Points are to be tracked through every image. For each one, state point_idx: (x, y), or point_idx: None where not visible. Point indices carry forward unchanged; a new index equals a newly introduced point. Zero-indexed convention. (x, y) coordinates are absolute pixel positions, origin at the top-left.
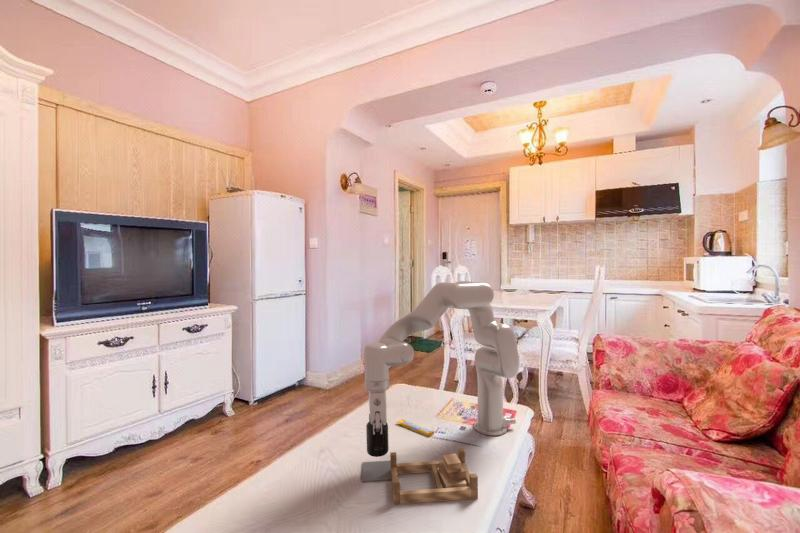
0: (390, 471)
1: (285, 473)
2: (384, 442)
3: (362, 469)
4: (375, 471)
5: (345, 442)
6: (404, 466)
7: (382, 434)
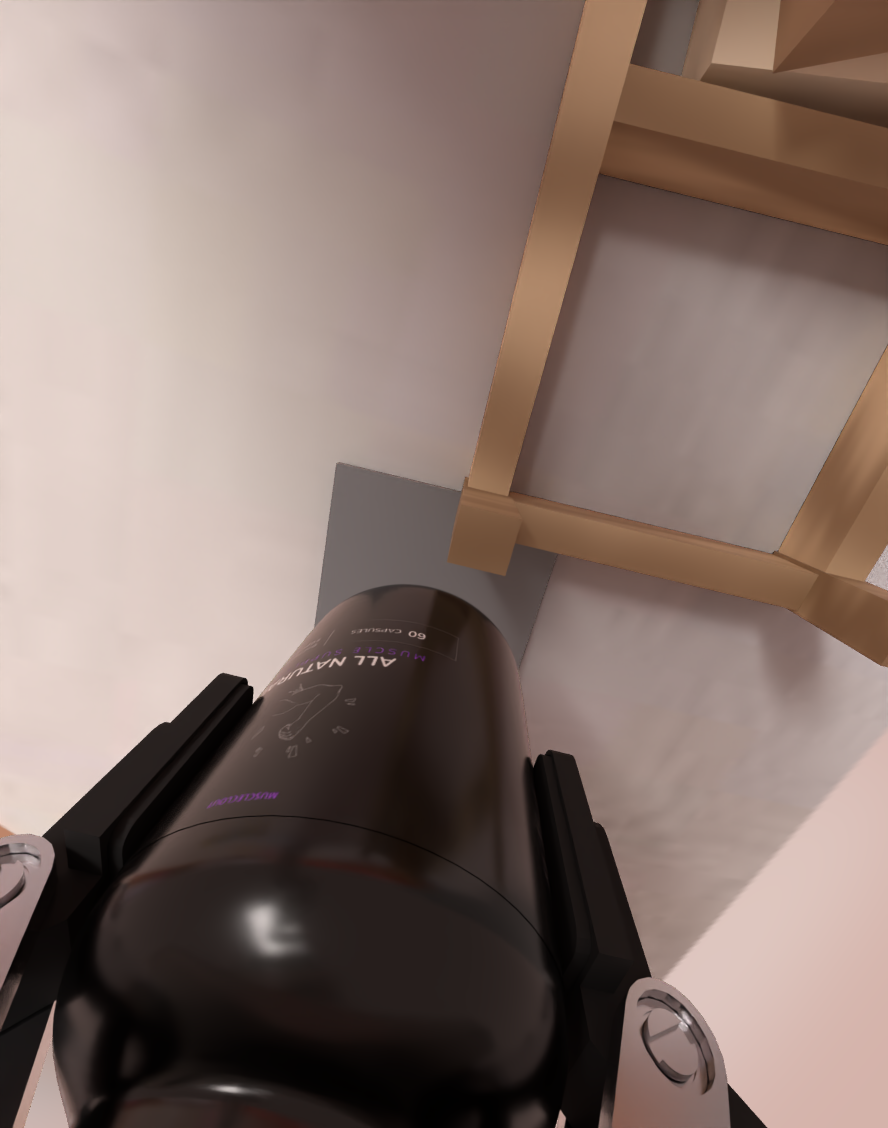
0: None
1: None
2: (524, 737)
3: None
4: None
5: (49, 698)
6: (525, 427)
7: (621, 943)
